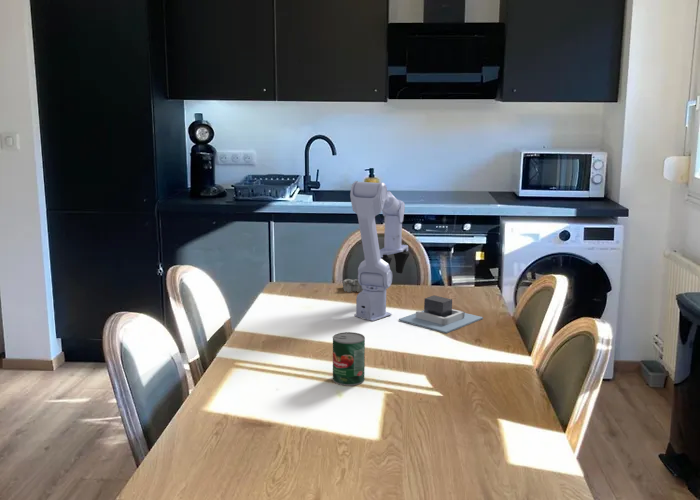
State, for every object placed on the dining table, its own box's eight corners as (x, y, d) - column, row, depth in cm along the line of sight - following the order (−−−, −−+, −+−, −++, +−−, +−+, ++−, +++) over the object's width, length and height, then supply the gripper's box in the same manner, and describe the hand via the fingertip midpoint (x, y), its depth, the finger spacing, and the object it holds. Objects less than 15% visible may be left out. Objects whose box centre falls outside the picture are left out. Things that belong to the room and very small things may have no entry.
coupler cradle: (446, 333, 213) (446, 325, 213) (398, 320, 225) (398, 312, 224) (482, 318, 228) (483, 311, 227) (436, 307, 239) (436, 300, 239)
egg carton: (343, 293, 257) (343, 281, 256) (342, 287, 265) (342, 276, 264) (373, 292, 258) (373, 281, 257) (371, 287, 265) (371, 276, 264)
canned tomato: (368, 375, 181) (368, 333, 178) (359, 387, 173) (360, 343, 171) (337, 372, 183) (337, 330, 180) (328, 383, 175) (328, 340, 173)
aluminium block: (442, 321, 223) (443, 302, 222) (423, 316, 228) (424, 298, 226) (451, 317, 227) (452, 299, 225) (433, 313, 231) (433, 295, 230)
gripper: (388, 239, 233) (387, 280, 236) (415, 233, 244) (414, 273, 246) (371, 236, 238) (371, 277, 241) (399, 231, 248) (398, 269, 251)
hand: (392, 274), depth 244 cm, fingers open, 7 cm apart
